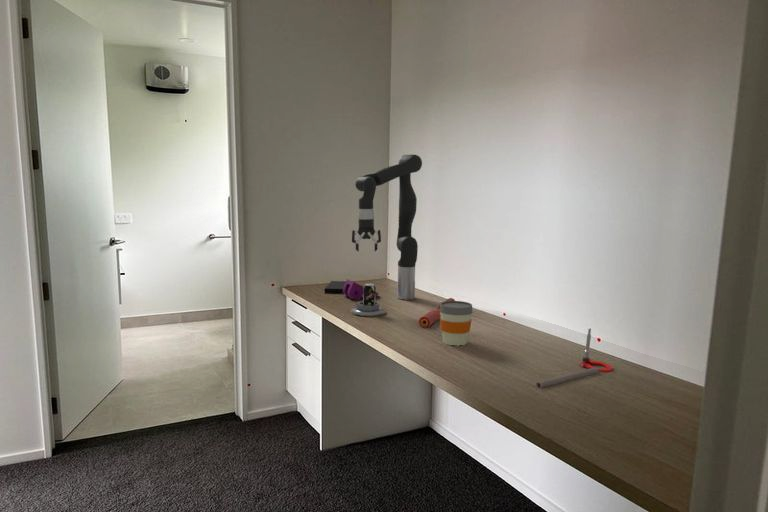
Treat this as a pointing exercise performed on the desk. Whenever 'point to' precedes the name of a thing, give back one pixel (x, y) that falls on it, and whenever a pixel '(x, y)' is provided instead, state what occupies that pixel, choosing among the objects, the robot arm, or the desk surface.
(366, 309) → the rosette socket
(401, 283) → the robot arm
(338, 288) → the external hard drive
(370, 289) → the beverage can
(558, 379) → the metal rod
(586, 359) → the tow hook
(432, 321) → the blood vessel
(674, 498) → the desk surface
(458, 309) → the reusable coffee cup
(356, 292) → the mounting bracket
